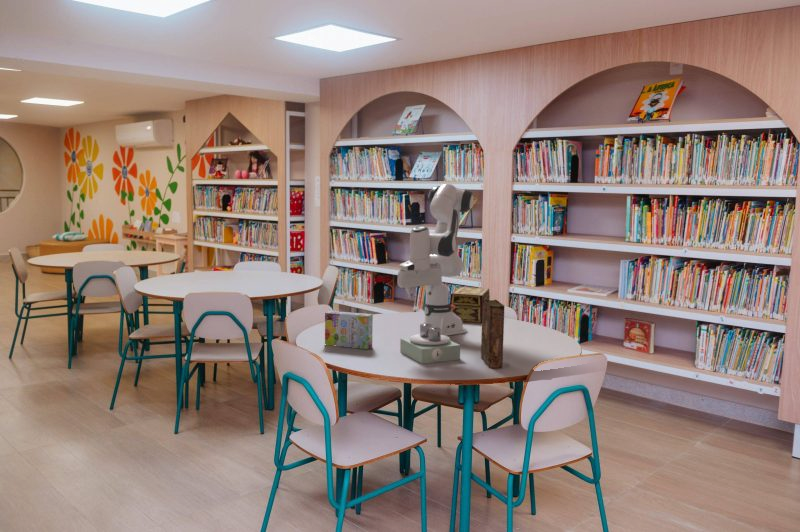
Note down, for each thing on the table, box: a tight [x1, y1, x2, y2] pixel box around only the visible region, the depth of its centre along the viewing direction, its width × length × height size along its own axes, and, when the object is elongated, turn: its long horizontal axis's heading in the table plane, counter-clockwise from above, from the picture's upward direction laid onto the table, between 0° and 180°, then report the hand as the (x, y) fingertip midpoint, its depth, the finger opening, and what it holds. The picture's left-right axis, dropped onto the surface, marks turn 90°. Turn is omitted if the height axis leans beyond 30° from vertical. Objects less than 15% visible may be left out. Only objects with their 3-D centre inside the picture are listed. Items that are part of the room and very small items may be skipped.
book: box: [480, 299, 505, 370], centre depth 259 cm, size 16×6×25 cm, turn 5°
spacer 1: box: [419, 322, 432, 338], centre depth 274 cm, size 5×5×5 cm
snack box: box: [324, 310, 374, 350], centre depth 284 cm, size 21×6×15 cm, turn 71°
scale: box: [399, 333, 461, 364], centre depth 270 cm, size 18×21×8 cm
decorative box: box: [449, 286, 491, 324], centre depth 352 cm, size 28×19×15 cm
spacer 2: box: [429, 327, 441, 342], centre depth 266 cm, size 5×5×5 cm
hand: (419, 296), depth 278 cm, fingers open, 8 cm apart
